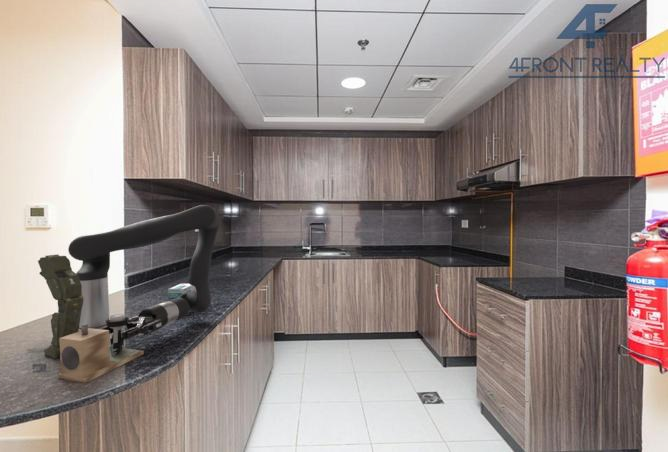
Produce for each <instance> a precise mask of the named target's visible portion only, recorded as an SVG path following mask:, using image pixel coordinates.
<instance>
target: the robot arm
mask: <svg viewBox="0 0 668 452" xmlns="http://www.w3.org/2000/svg"><path fill="white" fill-rule="evenodd" d="M220 223H221V215H220V213H219V211H217V210H216V209H215V208H213V207H212V206H210V205H206V204H201V205H197V206H193V207H192V208H189V209H185V210H183V211H181V212H177V213H174V214H169V215H163V216H159V217H155V218H150V219H146V220H141V221H138V222H135V223H134V222H133V223H131V224H128V225H125V226H122V227H118V228H116V229H114V230H109V231H106V232H102V233H101V232H100V233H94V234H87V235H86V234H85V235H81V236H78V237H76V238H74V239H73V240H72V241H71V242H70V244H69V245H68V254H69V255H70V256H71V257H72V258H73V259H75V260H78V261H82V264H81V267H80V268H79V269H78V271H76V272H75V273H76V274H77V275H78V277H79V280H80V282H81V285H82V296H83V298H84V299H83V306H82V310H81V317H80V324H79V329H82V327H81V325H83V324H88V328H92V329H95V328H99V327H100V329H101V330H109V335H110V334H113V330H114V329H113V328H110V327H107V323H106V320H108V319H110V298H109V274H108V273H109V270H110V267H111V265H110V264H111V253H113V252H117V251H123V250H131V249H137V248H143V247H147V246H152V245H154V244H159V243H161V242H164V241H166V240H168V239H170V238H172V237H174V236H175V235H179V234H181V233H184V232H189V231H194V230H198V233H197V234H198V236H197V243H196V247H195V249H194V251H193V255H192V257H191V261H190V264H189V271H188V280H187V281H188V283H187V284H190V285H193V286H195V287H196V292H186V293H183V294H182V295H180V296H179V297H177V298H176V299H174V300H171V301H169V300H168V301H165V302H164V301H163V302H160V303H157V304H154V305H151V306H149V307H145V308H143V309H142V310H140V312H139V314H138V315H136V316H132V317H128V318H129V320H128V322H127V324H126V325H125V326H123V327H121V333H122V339H123V340H124V341H125V340H128V339H130V338H133V337H135V336H141V335H142V334H143V336H147V335H150V334H152V333H154V332H157V331H158V330H160V329H162V328H164V327H167V326H169V325H171V324H172V323H174V322H177V321H178V320H181V319H183V318H185V317H186V316H187V315H189V313H190V312H189V311H191V312H192V313H193V312H194V313H205V312H206V311H208V309H210V306H211V302H212V298H211V297H212V296H211V290H210V289H211V288H210V281H209V277H210V272H211V271H210V270H211V263H212V256H213V250H214V249H213V248H214V244H215V240H216V238H217V237H216V236H217V233H218V230H219V227H220ZM105 325H106V326H105ZM102 326H104V327H102ZM125 327H126V328H125Z"/></svg>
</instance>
